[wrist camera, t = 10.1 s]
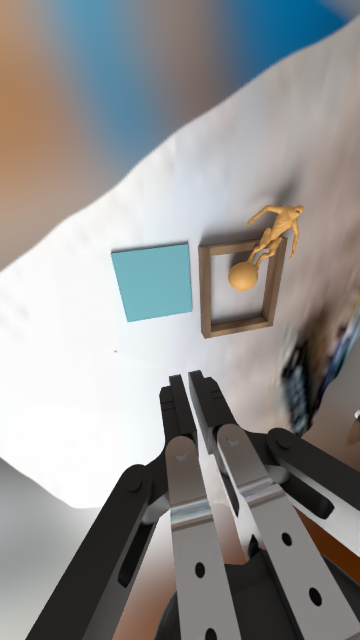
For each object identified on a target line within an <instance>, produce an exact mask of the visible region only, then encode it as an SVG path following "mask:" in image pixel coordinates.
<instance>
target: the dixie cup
mask: <svg viewBox="0 0 360 640" xmlns="http://www.w3.org/2000/svg"><path fill="white" fill-rule="evenodd" d="M355 417H356V418H357V420H358V421H359V422H360V410H358V411H357V412H356V414H355Z"/></svg>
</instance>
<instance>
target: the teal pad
mask: <svg viewBox="0 0 360 640" xmlns="http://www.w3.org/2000/svg"><path fill="white" fill-rule="evenodd" d="M111 257H112V261H113V265H114V269H115V273H116V277H117V281H118V286H119V290H120V294H121V298H122V302H123V306H124V310H125V314H126V318H127V322H133V321H139V320H145V319H150V318H156V317H162V316H168V315H174V314H180V313H186V312H192V302H191V285H190V269H189V252H188V244H182V245H174V246H166V247H158V248H150V249H142V250H133V251H125V252H117V253H111Z"/></svg>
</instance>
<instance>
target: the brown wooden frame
mask: <svg viewBox="0 0 360 640" xmlns="http://www.w3.org/2000/svg"><path fill="white" fill-rule="evenodd" d="M278 237H279V236H278ZM287 239H288V238H285V237H282V240H281V242H280V243H279V244H278V247H277V249H276V252H275V254H274V255H272V256H270V257H269V264H268V271H267V279H266V286H265V293H264V301H263V308H262V315H261V317H255V318H250V319H244V320H239V321H233V322H228V323H222V324H217V325H211V292H210V256H213V255H221V254H228V253H236V252H243V251H251V250H254V248H255V247H257V246H260V241H261V239H254V240H246V241H238V242H230V243H222V244H214V245H206V246H198V252H199V280H200V308H201V333H202V334H203V336H204V338H205V339H206V338H212V337H217V336H222V335H227V334H233V333H238V332H243V331H248V330H254V329H259V328H264V327H269V326H273V320H274V315H275V309H276V303H277V297H278V291H279V286H280V280H281V274H282V268H283V263H284V257H285V251H286V245H287ZM271 242H272V240H271V241H270V242H269V243H268V244H267V245H266V246H265V247H264V248H262V249H266V248H269V245H270V243H271Z"/></svg>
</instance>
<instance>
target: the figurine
mask: <svg viewBox="0 0 360 640" xmlns="http://www.w3.org/2000/svg"><path fill="white" fill-rule="evenodd" d="M267 210H268V211H272V212H276V213H278V215H277V218H276V220H275V223H274V225H273V227H272V229H271V228H267V229H266V230H265V231H264V234H263V237H262V238H261V241H260V246H257V247H255V248H254V250H253V252H252V253H251V255H250V257H249V259H248V260H247V261H246V262H240V263H237V264H235V265H234V266H233V267H232V268H231V270H230V271H229V275H228V280H229V283H230V285H231V286H232V287H233V288H234V289H236V290H239V291H245V290H248V289H250V288H252V287H253V286H254V285H255V284H256V282H257V279H258V272H257V271H258V269H259V267H258V266H259V264H260V262H261V260H262V258H267V257H270V256H272V255H274V254H275V252H276V249H277V247H278V244H279V243H280V242H281V240H282V237H278V236H279V235H280V234H281V233H282V232H284V231H285V230H287V229H289V228H290V227H292V228H293V232H294V234H295V237H294V241H293V246H292V254H291V256H290V258H291V257H292V255H293V254H294V251H295V248H296V244H297V239H298V236H299V229H298V225H297V217H298V216H299V215H300V214H301V213H302V211H303V206H296V207H291V206H286V207H283V206H271V205H268V206H265V207H264V208H263V209H262V210H261V211H260V212H258V213H257V214H256V215H255V216H254V217H252V218H251V219H250V220H249V221H248V223H247V224H248V225H249V224H250V225H251V224H252V222H253V224H254V219H256V218H258V217H259V216H261V215H262V214H263V213H264V212H266V211H267ZM247 224H246V225H247ZM248 225H247V226H248ZM249 227H250V226H249ZM271 240H272V242H271V243H270V245H269V249H270V251H269V253H263V254H262V255H261V256H260V257H259V259H258V260H257V262H256V264H255V265H252V259H253V257H254V254H255V252H258V251H259V250H261V249H262V248H264V247H265V246H266V245H267V244H268V243H269V242H270V241H271ZM290 258H289V259H290Z"/></svg>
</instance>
